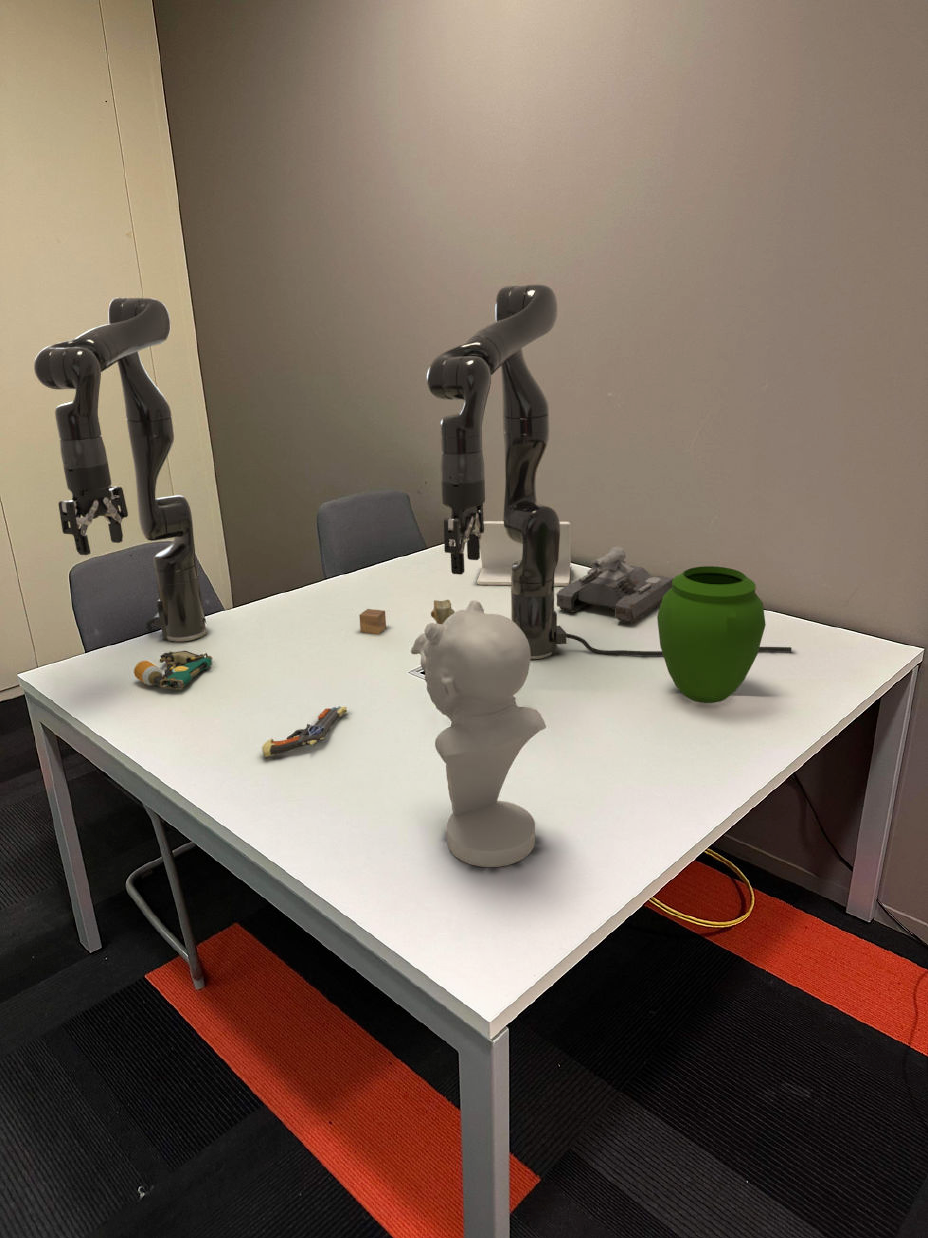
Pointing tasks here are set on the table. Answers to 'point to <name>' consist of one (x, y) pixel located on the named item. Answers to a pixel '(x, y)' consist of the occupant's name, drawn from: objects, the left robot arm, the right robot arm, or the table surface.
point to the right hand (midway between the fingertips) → (466, 566)
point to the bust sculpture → (481, 729)
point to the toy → (615, 588)
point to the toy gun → (305, 733)
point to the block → (372, 621)
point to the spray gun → (172, 669)
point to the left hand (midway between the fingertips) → (101, 548)
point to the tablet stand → (515, 555)
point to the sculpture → (441, 611)
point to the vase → (710, 631)
